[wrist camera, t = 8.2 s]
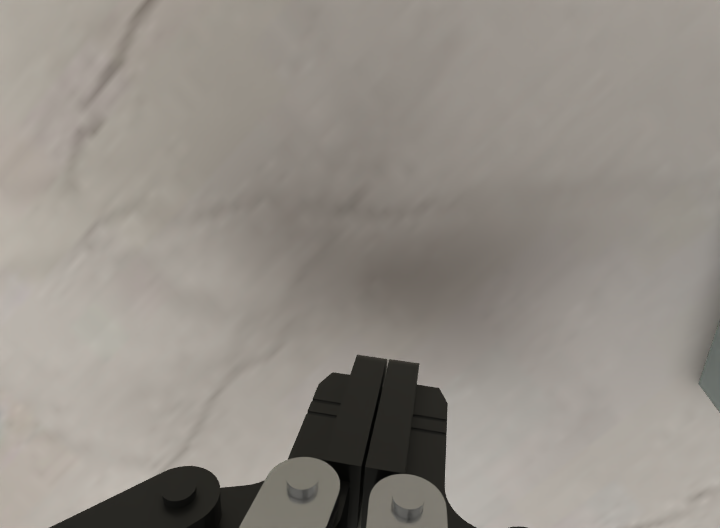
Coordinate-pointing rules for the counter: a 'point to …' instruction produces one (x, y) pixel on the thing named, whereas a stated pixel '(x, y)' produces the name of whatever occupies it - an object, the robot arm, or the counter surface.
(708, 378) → the grey block
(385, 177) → the counter surface
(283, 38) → the counter surface
